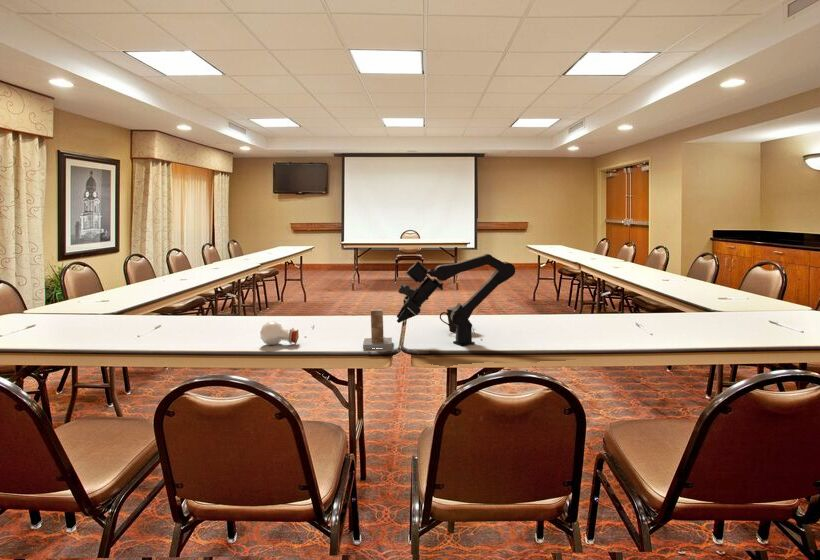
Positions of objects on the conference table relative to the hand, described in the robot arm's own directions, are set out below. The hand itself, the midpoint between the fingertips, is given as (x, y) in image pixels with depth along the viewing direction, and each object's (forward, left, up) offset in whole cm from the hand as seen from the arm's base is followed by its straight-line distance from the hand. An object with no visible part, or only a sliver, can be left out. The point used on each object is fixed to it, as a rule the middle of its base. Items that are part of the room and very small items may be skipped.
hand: (397, 319), depth 207 cm
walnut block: (+4, +7, -8) cm, 12 cm away
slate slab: (+4, +7, -10) cm, 13 cm away
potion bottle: (+30, +39, -11) cm, 50 cm away
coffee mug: (+10, -33, -11) cm, 36 cm away
